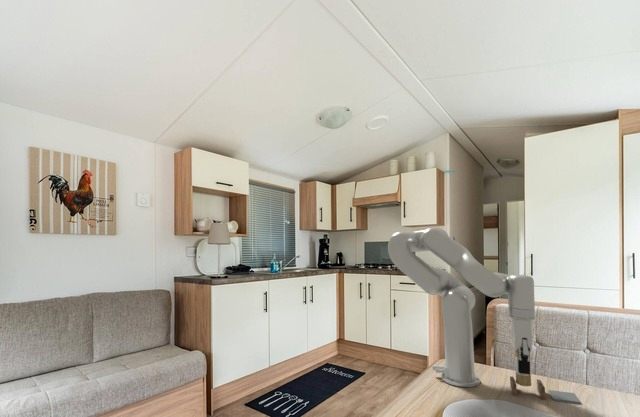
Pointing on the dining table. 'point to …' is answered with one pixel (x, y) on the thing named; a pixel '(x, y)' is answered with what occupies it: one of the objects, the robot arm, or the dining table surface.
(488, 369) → the dining table surface
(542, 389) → the walnut rack
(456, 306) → the robot arm
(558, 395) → the slate coaster
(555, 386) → the dining table surface
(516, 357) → the sprinkles bottle
